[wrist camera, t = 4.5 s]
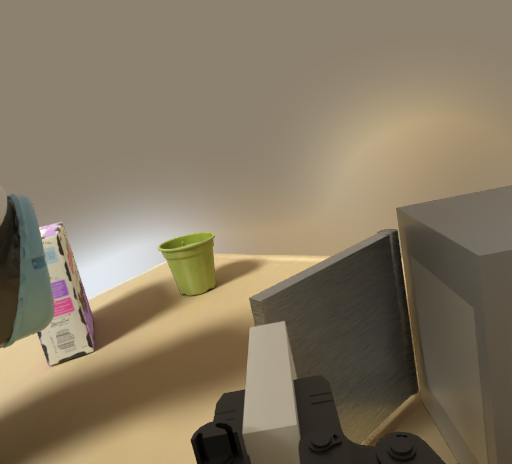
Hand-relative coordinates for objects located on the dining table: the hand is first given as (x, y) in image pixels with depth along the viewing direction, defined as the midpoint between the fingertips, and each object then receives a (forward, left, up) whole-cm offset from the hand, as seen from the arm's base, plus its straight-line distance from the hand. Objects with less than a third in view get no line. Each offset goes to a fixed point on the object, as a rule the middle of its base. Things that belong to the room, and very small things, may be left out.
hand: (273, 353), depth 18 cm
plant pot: (-52, +8, -14) cm, 55 cm away
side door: (-8, +8, -13) cm, 17 cm away
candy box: (-48, -12, -14) cm, 52 cm away
